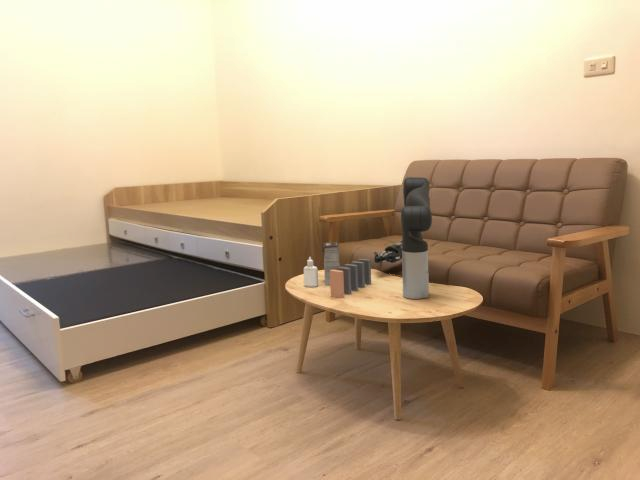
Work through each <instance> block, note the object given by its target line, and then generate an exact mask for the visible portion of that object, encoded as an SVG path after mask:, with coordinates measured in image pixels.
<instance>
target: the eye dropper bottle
mask: <svg viewBox="0 0 640 480" xmlns="http://www.w3.org/2000/svg"><path fill="white" fill-rule="evenodd" d="M306 263H307V265H306V266H304V267H303V284H304V287H306V286H307V288H316V287H318V286H319V270H318V267H317V266H315V265H314V260H313V259H312V257H311V256H309V257H308V259H307V260H306Z"/></svg>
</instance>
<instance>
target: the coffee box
mask: <svg viewBox="0 0 640 480" xmlns="http://www.w3.org/2000/svg"><path fill="white" fill-rule="evenodd" d="M339 243H340V242H339V241H329V242H326V241H324V242H323V261H324V262H323V267H324V269H323V270H324V272H323V273H324V285H325V286H328V285H329V286H330V270H337V267H341V265H340V263H341V262H340V244H339Z"/></svg>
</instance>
